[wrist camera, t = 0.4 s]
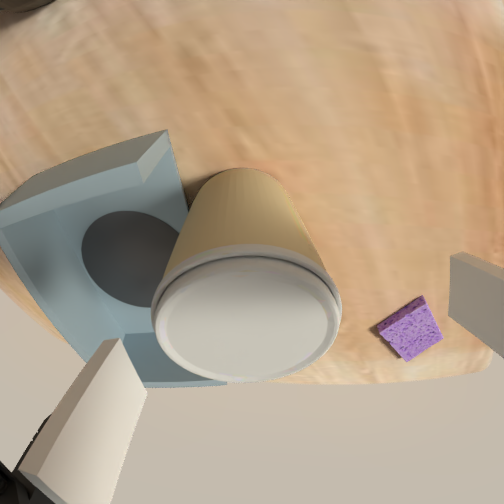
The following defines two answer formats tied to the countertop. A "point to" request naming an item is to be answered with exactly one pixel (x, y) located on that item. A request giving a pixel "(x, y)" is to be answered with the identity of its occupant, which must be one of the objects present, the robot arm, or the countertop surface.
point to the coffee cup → (245, 285)
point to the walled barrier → (102, 249)
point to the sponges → (411, 329)
